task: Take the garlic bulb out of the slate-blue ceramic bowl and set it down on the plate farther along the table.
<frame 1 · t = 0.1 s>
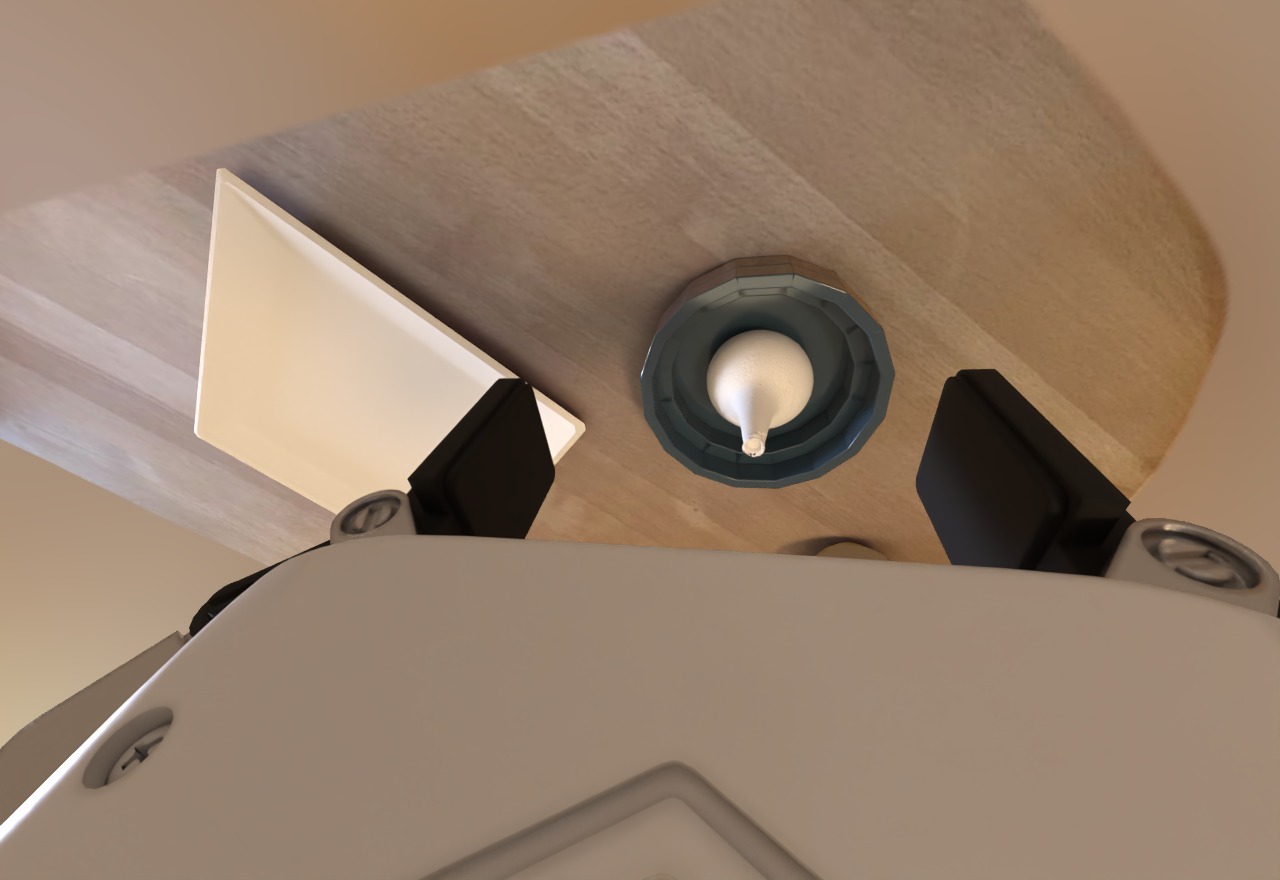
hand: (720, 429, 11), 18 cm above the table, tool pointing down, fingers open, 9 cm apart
mug: (844, 574, 39), on the table
garlic bulb: (757, 368, 29), resting on bowl
bowl: (757, 366, 29), on the table
plate: (384, 417, 38), on the table
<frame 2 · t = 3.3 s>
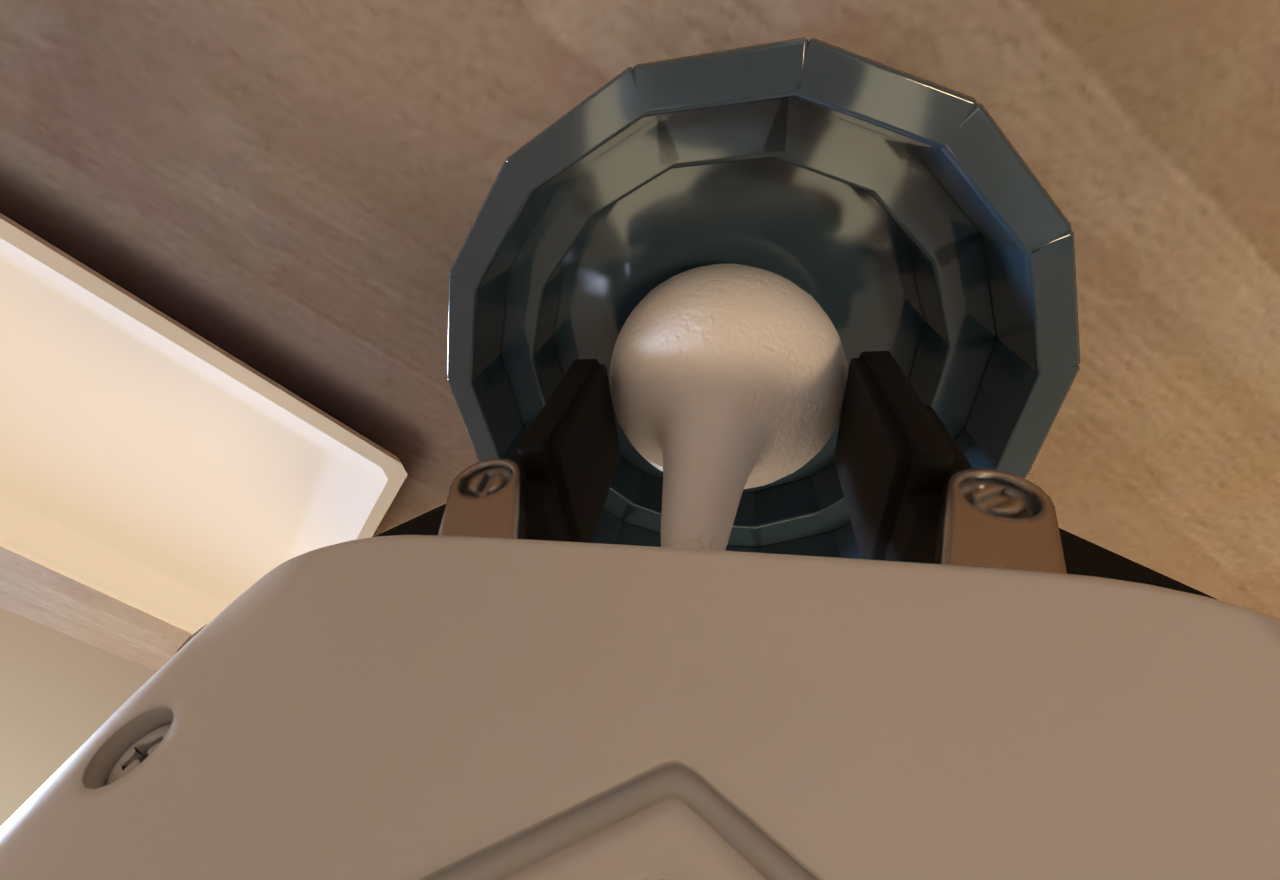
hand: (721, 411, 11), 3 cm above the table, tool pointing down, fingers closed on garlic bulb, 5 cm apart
garlic bulb: (723, 357, 14), resting on bowl, touching gripper
bowl: (724, 354, 14), on the table
plate: (115, 442, 23), on the table
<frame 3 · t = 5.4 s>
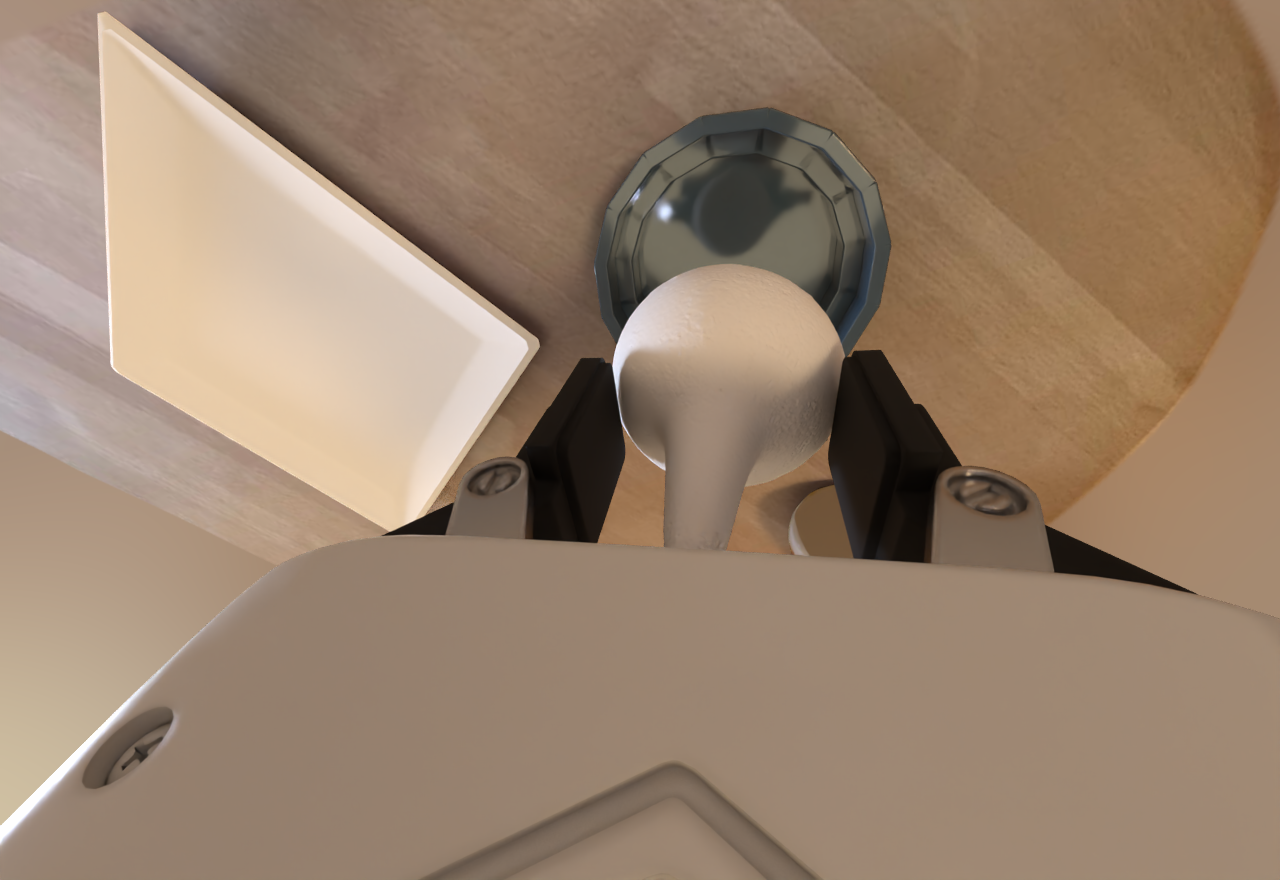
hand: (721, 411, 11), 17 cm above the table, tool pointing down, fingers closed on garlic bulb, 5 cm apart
mug: (835, 526, 35), on the table
garlic bulb: (724, 356, 14), point 14 cm above the table, touching gripper
bowl: (733, 264, 25), on the table
plate: (321, 346, 34), on the table
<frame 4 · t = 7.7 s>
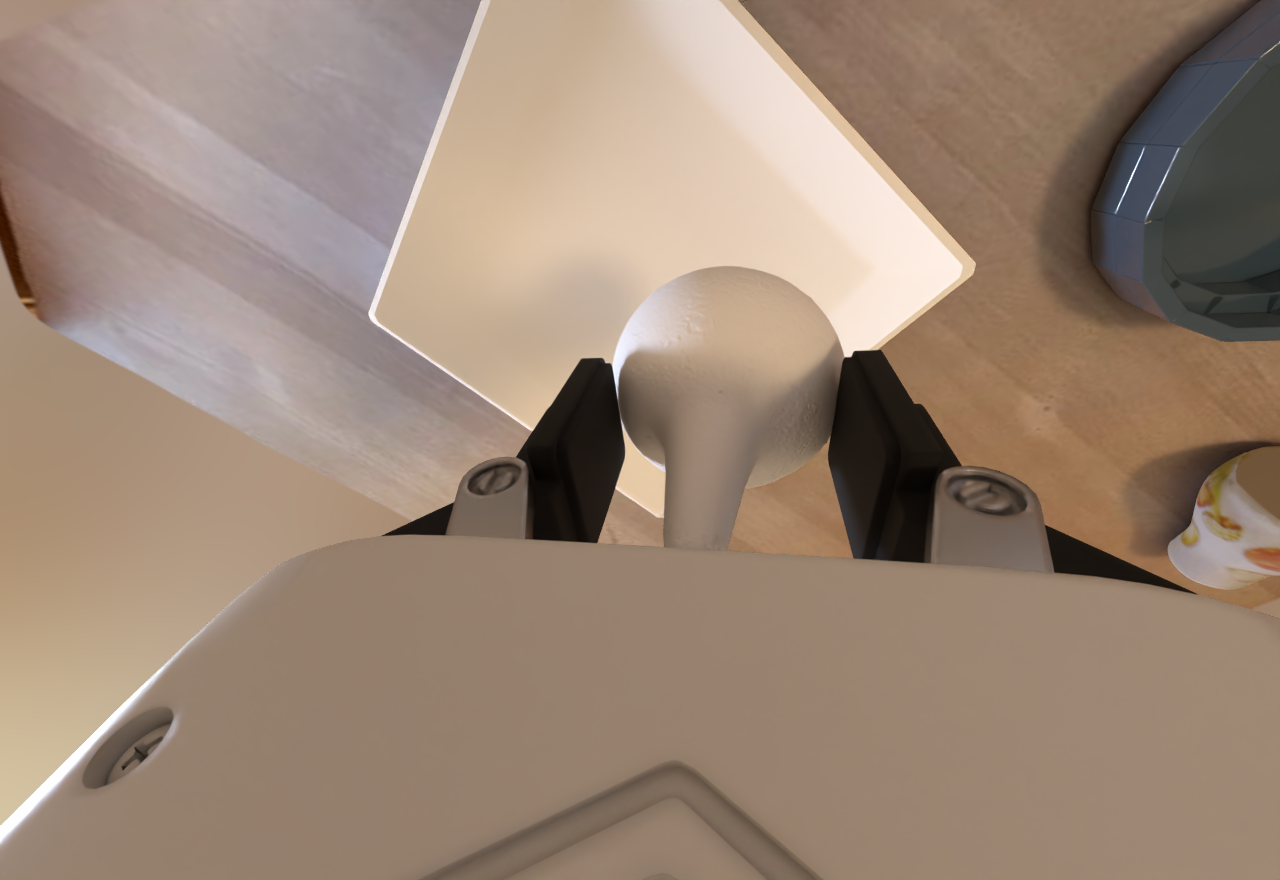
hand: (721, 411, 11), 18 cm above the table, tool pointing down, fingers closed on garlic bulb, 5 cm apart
mug: (1221, 498, 30), on the table
garlic bulb: (724, 358, 14), point 15 cm above the table, touching gripper
plate: (634, 286, 29), on the table
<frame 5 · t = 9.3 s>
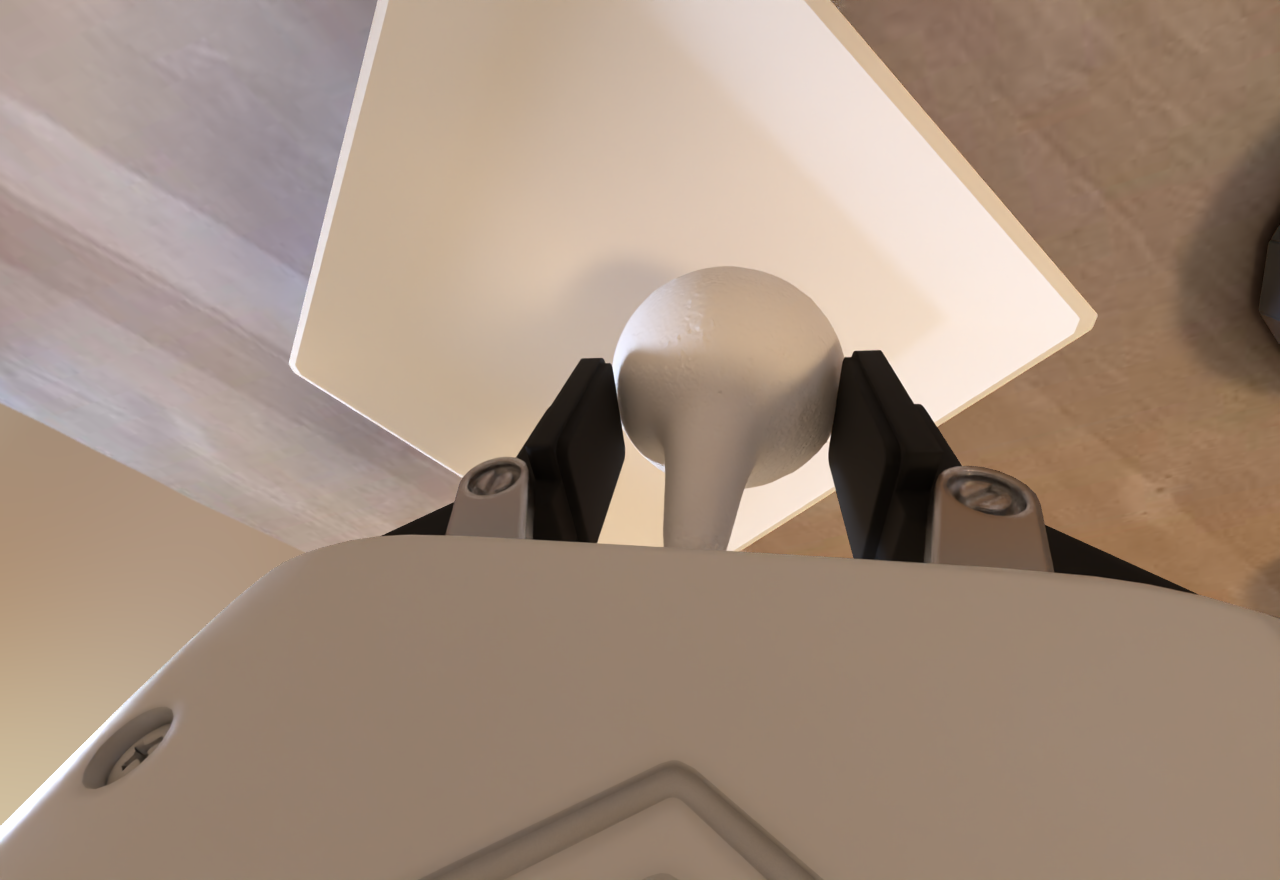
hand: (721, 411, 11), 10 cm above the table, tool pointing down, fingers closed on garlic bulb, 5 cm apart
garlic bulb: (724, 358, 14), point 7 cm above the table, touching gripper
plate: (623, 332, 22), on the table
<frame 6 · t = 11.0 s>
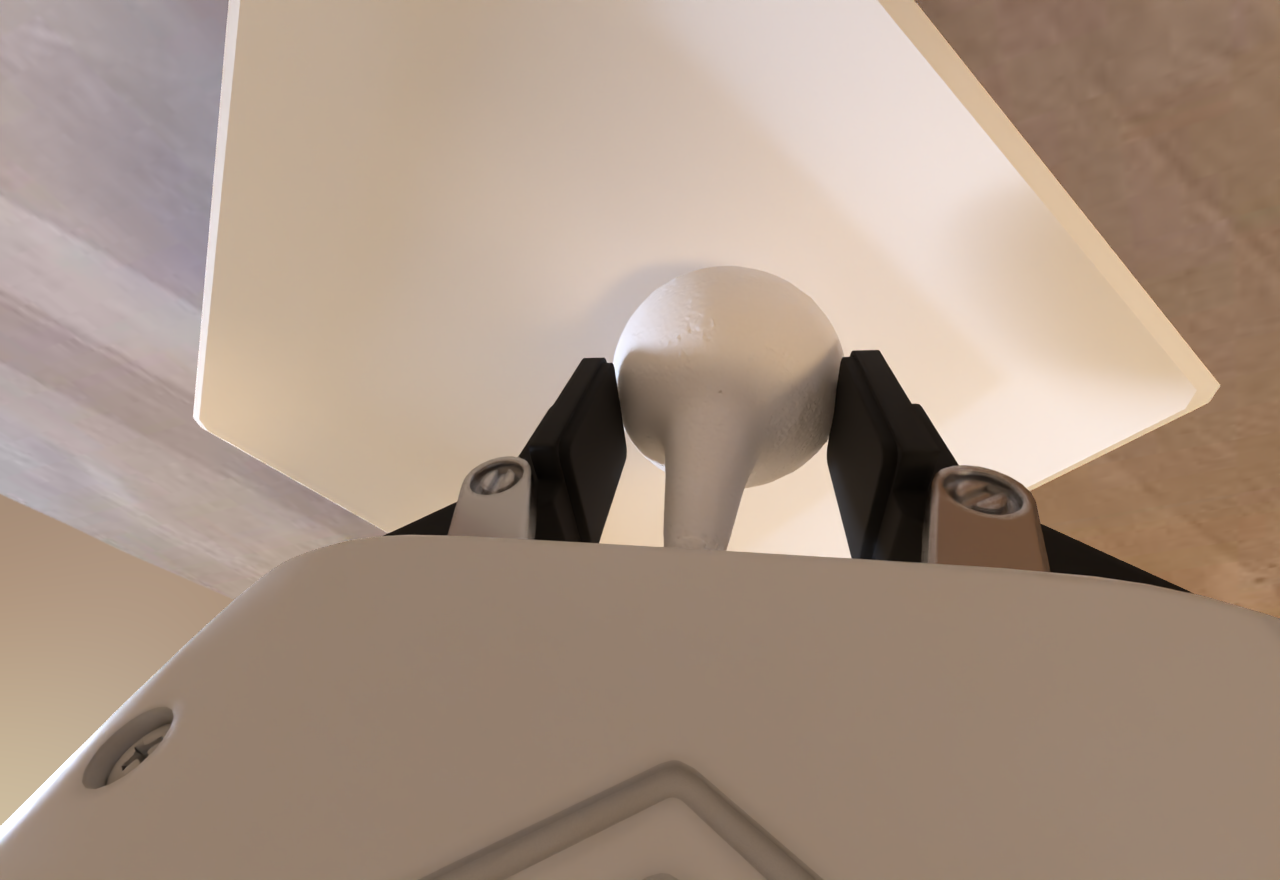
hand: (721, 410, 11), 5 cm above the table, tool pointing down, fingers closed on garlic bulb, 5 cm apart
garlic bulb: (724, 357, 14), point 2 cm above the table, touching gripper, plate
plate: (596, 385, 18), on the table, touching garlic bulb
when the fingers open (5 cm above the table, at t = 11.0 s): garlic bulb stays where it is, resting on plate.
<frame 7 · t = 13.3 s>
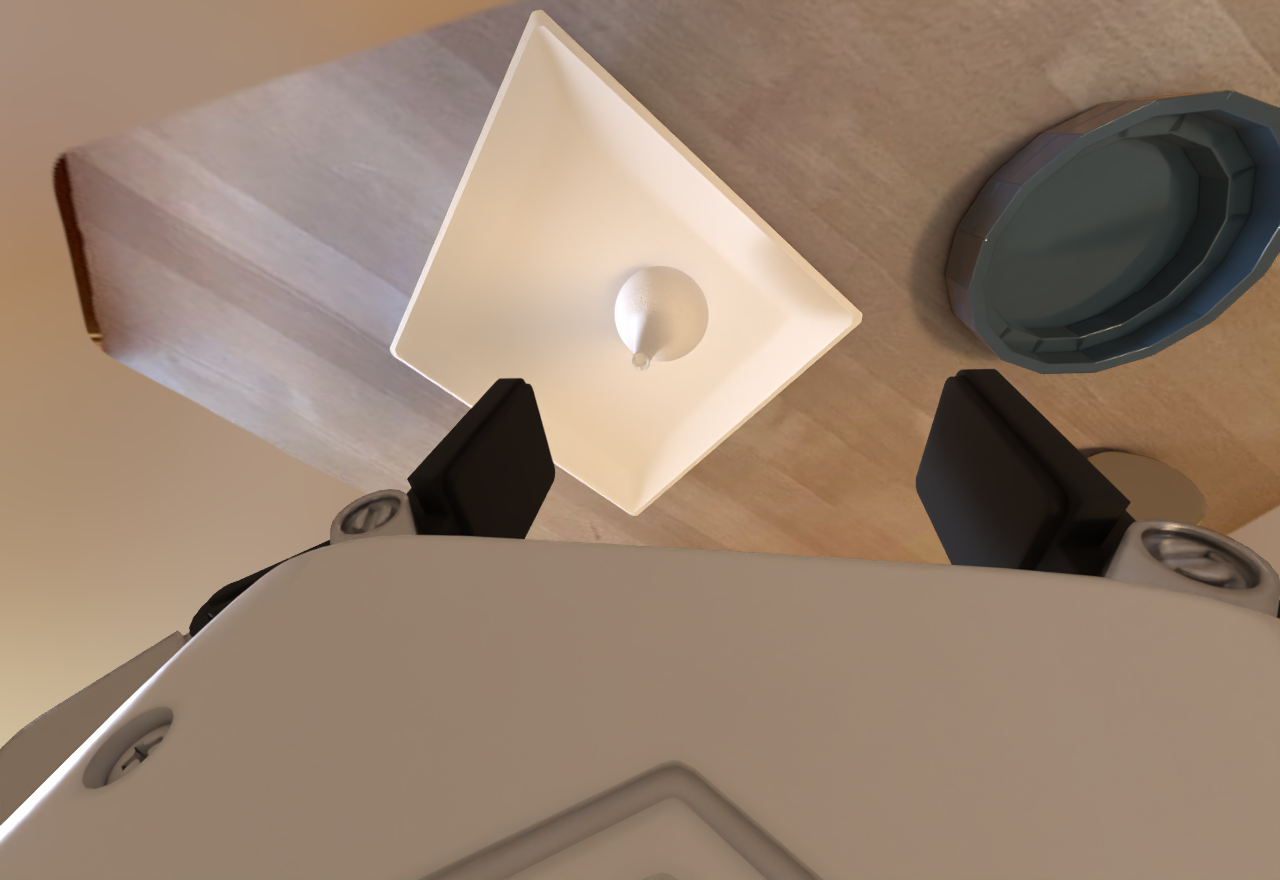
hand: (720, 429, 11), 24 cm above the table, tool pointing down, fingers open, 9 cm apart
mug: (1084, 493, 37), on the table
garlic bulb: (664, 307, 32), point 2 cm above the table, touching plate
bowl: (1074, 240, 27), on the table
plate: (605, 327, 36), on the table, touching garlic bulb
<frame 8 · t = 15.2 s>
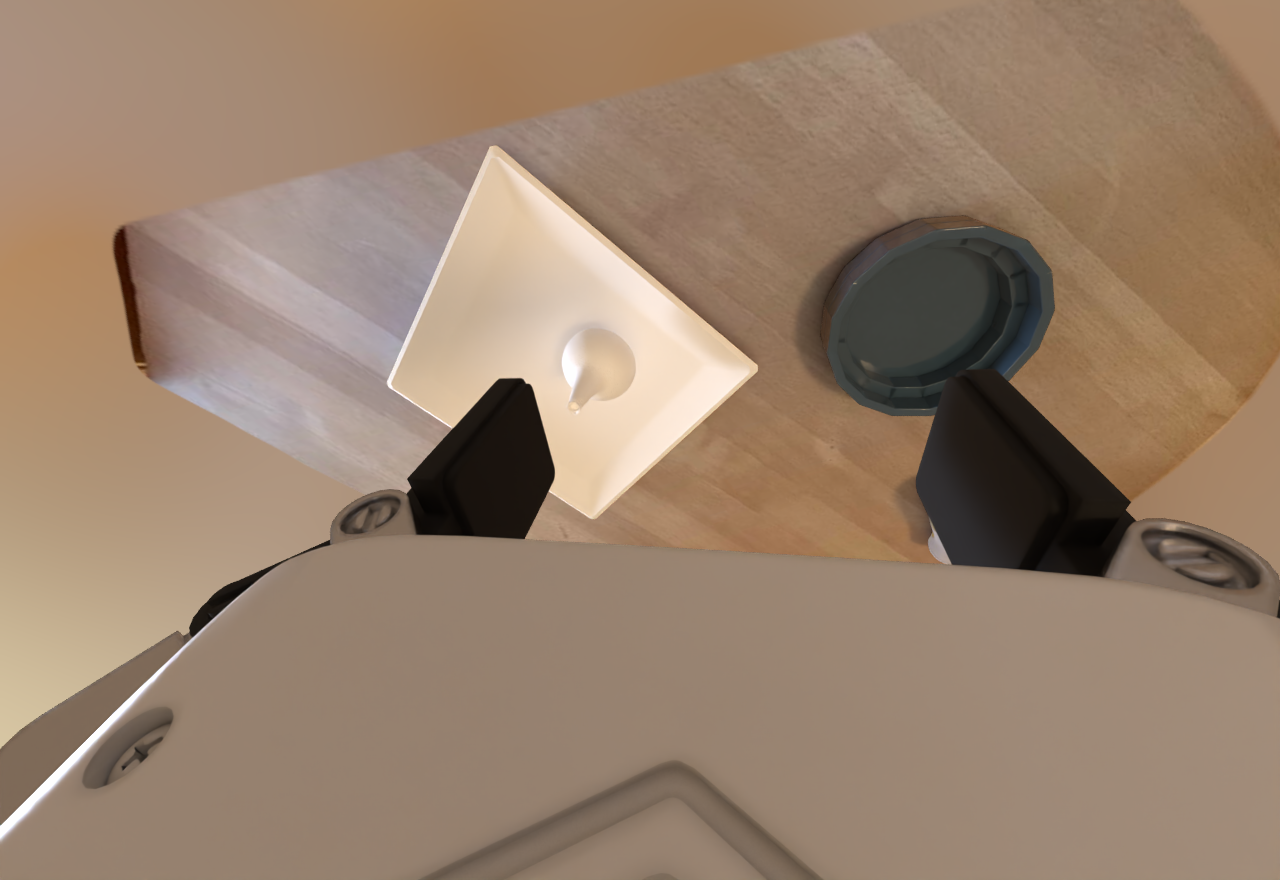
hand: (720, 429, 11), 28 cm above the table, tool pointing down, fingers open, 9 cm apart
mug: (956, 505, 45), on the table
garlic bulb: (604, 356, 40), point 2 cm above the table, touching plate
bowl: (915, 313, 35), on the table
plate: (562, 367, 44), on the table, touching garlic bulb
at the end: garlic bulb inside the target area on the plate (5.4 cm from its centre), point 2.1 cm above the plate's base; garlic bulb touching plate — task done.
